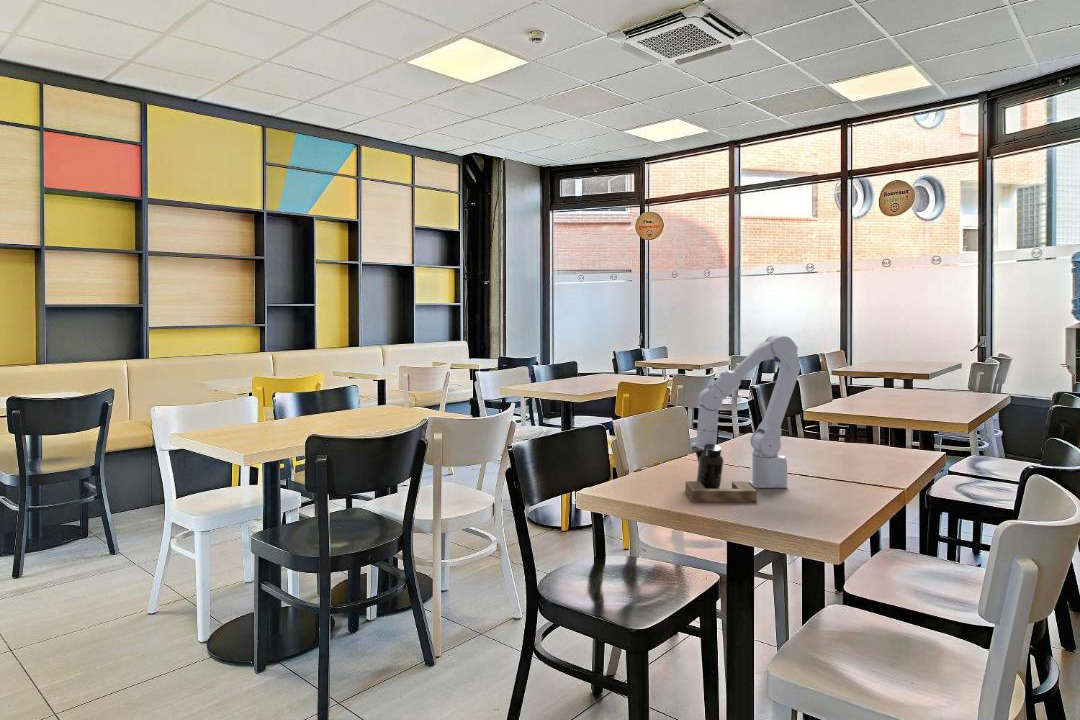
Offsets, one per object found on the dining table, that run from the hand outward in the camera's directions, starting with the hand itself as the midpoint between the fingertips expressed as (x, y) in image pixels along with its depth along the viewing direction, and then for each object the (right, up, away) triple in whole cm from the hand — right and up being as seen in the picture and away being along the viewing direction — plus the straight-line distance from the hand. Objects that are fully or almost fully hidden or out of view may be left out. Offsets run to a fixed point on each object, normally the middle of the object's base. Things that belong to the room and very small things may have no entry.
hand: (703, 475), depth 206 cm
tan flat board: (+1, -4, -14) cm, 15 cm away
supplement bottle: (+1, -2, -3) cm, 4 cm away
